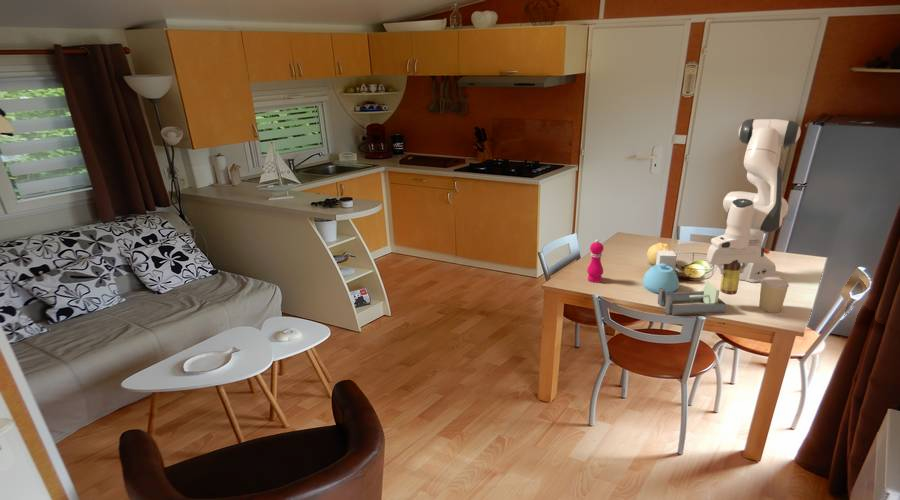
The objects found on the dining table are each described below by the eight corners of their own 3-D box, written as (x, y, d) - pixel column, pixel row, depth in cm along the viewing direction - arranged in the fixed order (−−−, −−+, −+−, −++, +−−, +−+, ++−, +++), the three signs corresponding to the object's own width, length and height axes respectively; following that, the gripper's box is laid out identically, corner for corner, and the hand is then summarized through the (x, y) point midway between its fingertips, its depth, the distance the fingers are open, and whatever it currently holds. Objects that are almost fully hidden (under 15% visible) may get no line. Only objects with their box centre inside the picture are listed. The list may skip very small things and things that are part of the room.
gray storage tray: (708, 299, 218) (711, 284, 216) (724, 312, 207) (726, 297, 204) (656, 301, 218) (658, 286, 216) (668, 315, 206) (670, 299, 204)
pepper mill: (589, 275, 247) (591, 236, 240) (604, 278, 243) (607, 238, 236) (584, 281, 241) (587, 240, 234) (600, 283, 237) (603, 243, 230)
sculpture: (674, 268, 251) (677, 247, 248) (649, 268, 253) (651, 247, 249) (668, 259, 262) (670, 239, 258) (643, 259, 263) (645, 239, 260)
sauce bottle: (740, 294, 208) (748, 248, 201) (727, 296, 207) (735, 249, 200) (728, 288, 214) (736, 242, 207) (715, 289, 213) (722, 244, 206)
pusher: (705, 300, 216) (708, 281, 213) (716, 310, 208) (719, 290, 205) (683, 301, 216) (686, 282, 213) (693, 311, 208) (696, 291, 205)
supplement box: (674, 281, 237) (677, 256, 232) (656, 281, 238) (659, 255, 234) (670, 275, 243) (673, 250, 239) (654, 274, 245) (657, 249, 241)
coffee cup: (771, 302, 214) (777, 275, 210) (789, 312, 205) (794, 284, 201) (751, 304, 213) (756, 277, 208) (767, 314, 204) (773, 287, 200)
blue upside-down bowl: (676, 297, 221) (679, 272, 217) (639, 291, 228) (641, 267, 224) (680, 284, 234) (683, 260, 230) (645, 279, 241) (647, 256, 237)
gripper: (757, 236, 206) (752, 268, 211) (707, 239, 206) (702, 271, 210) (767, 242, 200) (761, 274, 205) (715, 244, 200) (710, 277, 204)
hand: (731, 272), depth 207 cm, fingers closed on sauce bottle, 6 cm apart
